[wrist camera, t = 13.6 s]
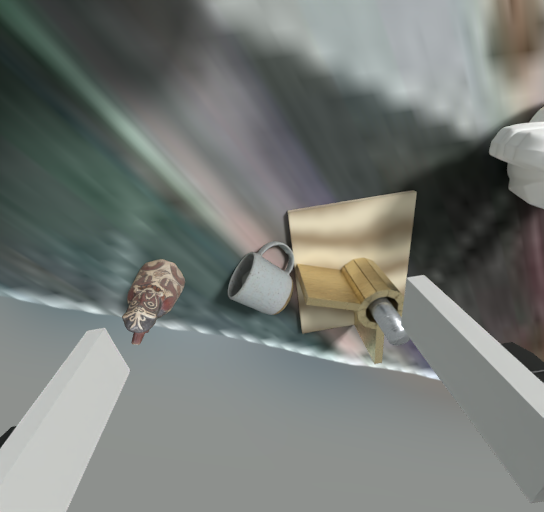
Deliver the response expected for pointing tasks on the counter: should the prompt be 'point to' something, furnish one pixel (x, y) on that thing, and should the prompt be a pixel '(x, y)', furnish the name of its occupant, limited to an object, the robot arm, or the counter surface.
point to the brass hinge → (352, 295)
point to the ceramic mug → (262, 282)
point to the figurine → (152, 296)
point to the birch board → (351, 245)
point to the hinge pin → (388, 321)
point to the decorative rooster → (523, 158)
